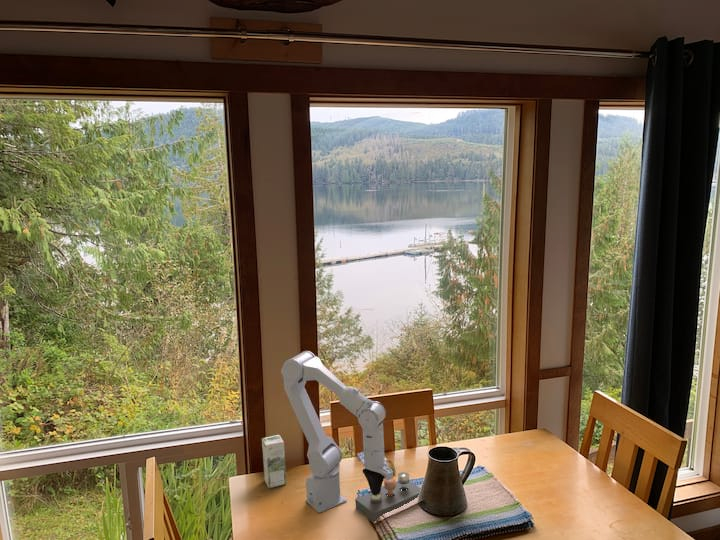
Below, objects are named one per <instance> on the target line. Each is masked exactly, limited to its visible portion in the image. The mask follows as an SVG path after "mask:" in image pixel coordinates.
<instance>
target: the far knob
mask: <svg viewBox="0 0 720 540" xmlns="http://www.w3.org/2000/svg"><path fill="white" fill-rule="evenodd" d="M397 481H398V482H399V483H400V484H401V486H402V491H403V492H404V491H407V490H406V484H408V483H409V481H410V474H409V472H406V471H401V472H399V473H398V474H397Z"/></svg>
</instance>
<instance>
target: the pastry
mask: <svg viewBox="0 0 720 540" xmlns="http://www.w3.org/2000/svg"><path fill="white" fill-rule="evenodd" d="M387 459H388V461H387V462H386V463H387V465H388V466H389V468H390V469H391V470H392V471H393V476H394V475H395V474H396V467H395V463H394V461H393V460H392V459H390V458H387Z"/></svg>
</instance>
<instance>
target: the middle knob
mask: <svg viewBox="0 0 720 540" xmlns="http://www.w3.org/2000/svg"><path fill="white" fill-rule="evenodd" d="M395 482H396V479H395V478H394V477H393V478H392V479H390V480H386V478H384V480H383V483H384V484H383V487H384V488H385V489H386V490H388V497H389V498H390V497H393V490H394V489H395V488H396V483H395Z"/></svg>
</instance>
